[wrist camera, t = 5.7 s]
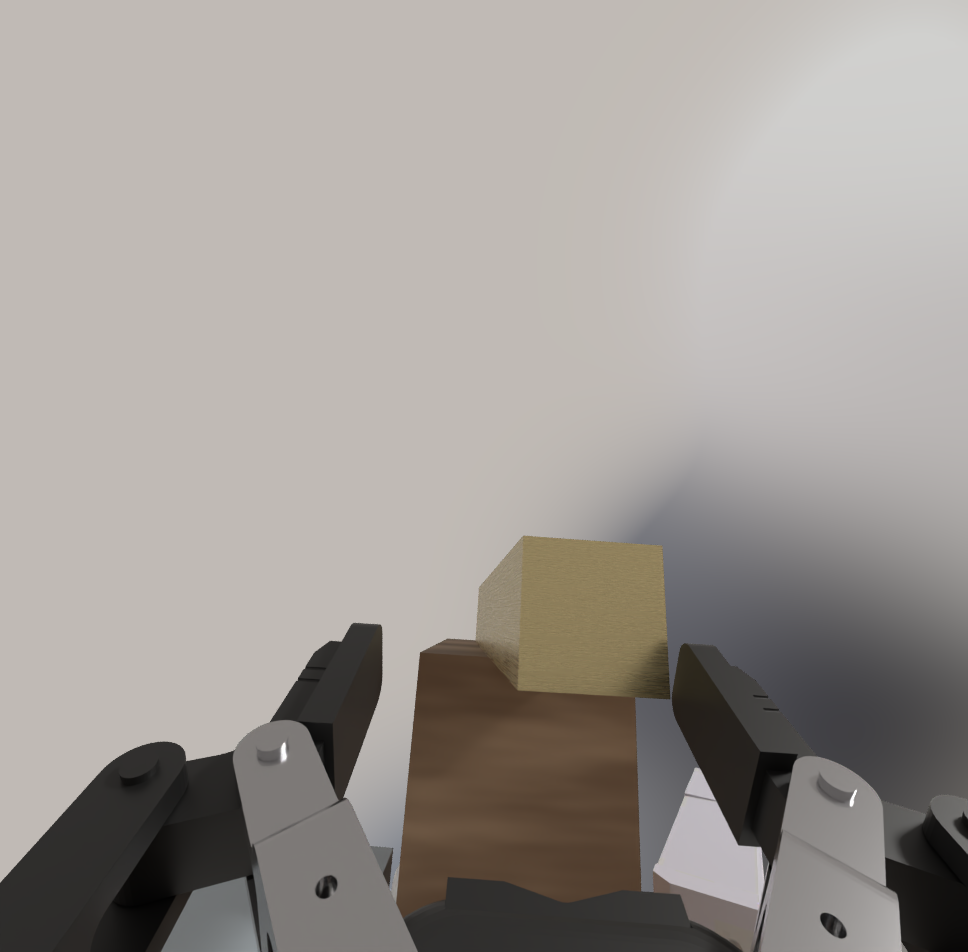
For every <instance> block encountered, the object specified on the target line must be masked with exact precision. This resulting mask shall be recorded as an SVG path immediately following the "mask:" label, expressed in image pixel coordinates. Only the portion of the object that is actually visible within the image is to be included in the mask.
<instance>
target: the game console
mask: <svg viewBox="0 0 968 952" xmlns="http://www.w3.org/2000/svg"><path fill="white" fill-rule="evenodd" d="M653 885H654V892H655V893H668V894H680V895H681V898H682V901H683V904H684V907H685V910H686V913H687V916H688V919H689V920H691V921H694V922H696V923H698V924H701V925H703V926H705V927H707V928H709V929H711V930H712V931H714V932H716V933H717V934H719V935H720V936H722V937H724V938H725V939H727V940H728V941H730V942H731V943H732V944H734V945H735V946H736V947H738V948H739V949H740V950H742V951H743V952H750V949H751V944H752V939H753V934H754V930H755V925H756V920H757V915H758V910H759V905H760V900H761V895H762V890H763V885H764V873H763V863H762V852H761V847H751V846H738V844H737V842H736V840H735V838H734V836H733V834H732V832H731V830H730V828H729V826H728V824H727V822H726V820H725V818H724V816H723V814H722V812H721V810H720V808H719V806H718V804H717V802H716V800H715V798H714V796H713V794H712V792H711V790H710V787H709V785H708V783H707V781H706V779H705V777H704V775H703V773H702V771H701V769H699V768H695V769H694V773H693V775H692V777H691V780H690V782H689V784H688V786H687V789H686V791H685V797H684V800H683V802H682V804H681V807H680V809H679V812H678V814H677V817H676V819H675V822H674V824H673V827H672V829H671V832H670V835H669V837H668V839H667V842H666V844H665V847H664V849H663V852H662V855H661V857H660V860H659V862H658V864H655V867H654V869H653Z"/></svg>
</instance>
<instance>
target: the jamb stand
mask: <svg viewBox="0 0 968 952" xmlns="http://www.w3.org/2000/svg"><path fill="white" fill-rule="evenodd" d="M636 746H637V742H636V711H635V697H623V696H605V695H588V694H571V693H554V692H537V691H520V690H517V689H516V688H515V687H514V686H513V684H512V683H511V682H510V681H509V680H508V679H507V678H506V676H505V675H504V674H503V673H502V672H501V671H500V669H499V668H498V667H497V666H496V665H495V664H494V663H493V661H492V660H491V659H490V658H489V657H488V656H487V654H486V653H485V652H484V651H483V650H482V649H481V648H480V646H479V645H478V644H477V643H476V641H474V640H460V639H446V640H444V641H442V642H440V643H438V644H436V645H434V646H432V647H430V648H428V649H426V650H424V651H422V652H420V659H419V670H418V681H417V691H416V701H415V711H414V722H413V732H412V742H411V753H410V763H409V775H408V785H407V795H406V805H405V815H404V826H403V836H402V847H401V857H400V867H399V877H398V888H397V898H396V904H397V906H398V909H399V911H400V913H401V915H402V918H404V917H405V916H406V915H408V914H410V913H412V912H413V911H415V910H417V909H419V908H421V907H423V906H426V905H428V904H431V903H433V902H437V901H441V900H445V899H446V889H447V879H448V877H455V878H468V879H482V880H495V881H505V882H508V883H511V884H513V885H516V886H519V887H522V888H524V889H527V890H530V891H533V892H535V893H538V894H541V895H543V896H546V897H549V898H552V899H554V900H557V901H560V902H565V903H569V902H575V901H579V900H583V899H587V898H591V897H596V896H600V895H604V894H608V893H613V892H617V891H621V890H628V891H641V868H640V837H639V805H638V774H637V747H636Z"/></svg>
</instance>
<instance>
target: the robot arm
mask: <svg viewBox="0 0 968 952" xmlns="http://www.w3.org/2000/svg"><path fill="white" fill-rule="evenodd" d="M381 685H382V627H381V625H378V624H363V623H353V624H352V625H351V626H350V628H349V630H348V632H347V633H346V635H345V637H344V639H343V640H342V642H337V641H329V642H328V643H327V644H325V645H324V646H323V647H321V648H320V649H319V650H318V651H316V652H315V653H314V654H313V656H312V657H311V659H310V660H309V662H308V664H307V665H306V668H305V669H304V670H303V671H302V673H301V675H300V676H299V677H298V681H296V682H295V684H294V685H293V687H292V689H291V690H290V691H289V693H288V695H287V696H286V698H285V699H284V701H283V702H282V704H281V706H280V707H279V709H278V710H277V712H276V713H275V715H274V716H273V718H272V720H271V721H270V723H267V724H264V725H262V726H260V727H258V728H256V729H254V730H253V731H251V732H250V733H248V734H247V735H246V736H245V737H244V738H243V739H242V740H241V741H240V742H239V744H238V745H237V747H236V749H235V750H234V751H231V752H228V753H226V754H221V755H217V756H211V757H206V758H201V759H196V760H191V761H186V756H185V751H184V749H183V748H182V747H181V746H180V745H178V744H175V743H172V742H155V743H150V744H146V745H142V746H140V747H137V748H134V749H132V750H130V751H128V752H126V753H124V754H123V755H121V756H119V757H118V758H116V759H115V760H113V761H112V762H111V763H110V764H108V765H107V766H106V767H105V768H104V769H103V770H102V771H101V772H100V773H99V774H98V775H97V776H96V778H95V779H94V780H93V781H92V782H91V783H90V784H89V785H88V786H87V788H86V789H85V790H84V791H83V792H82V793H81V794H80V795H79V796H78V797H77V799H76V800H75V801H74V802H73V803H72V804H71V805H70V806H69V807H68V809H67V810H66V811H65V812H64V813H63V814H62V815H61V816H60V817H59V818H58V820H57V821H56V822H55V823H54V824H53V825H52V826H51V827H50V829H49V830H48V831H47V832H46V833H45V834H44V835H43V836H42V837H41V838H40V839H39V841H38V842H37V843H36V844H35V845H34V846H33V847H32V848H31V849H30V851H29V852H28V853H27V854H26V855H25V856H24V857H23V858H22V859H21V861H20V862H19V863H18V864H17V865H16V866H15V867H14V868H13V869H12V870H11V872H10V873H9V874H8V875H7V876H6V877H5V878H4V879H3V880H2V882H1V883H0V952H161V951H162V949H163V947H164V945H165V943H166V941H167V939H168V937H169V935H170V934H171V932H172V930H173V928H174V926H175V924H176V922H177V920H178V918H179V916H180V914H181V913H182V911H183V909H184V907H185V905H186V903H187V901H188V899H189V897H190V895H191V894H192V892H193V891H194V890H197V889H201V888H205V887H209V886H212V885H216V884H220V883H223V882H227V881H231V880H235V879H238V878H242V877H244V879H245V885H246V890H247V895H248V901H249V906H250V911H251V917H252V922H253V928H254V933H255V938H256V944H257V949H258V952H743V951H742V950H740V949H739V948H738V947H736V946H735V945H734V944H732V943H731V942H730V941H728V940H727V939H725V938H724V937H722V936H720V935H719V934H717V933H716V932H714V931H712V930H711V929H709V928H707V927H705V926H703V925H701V924H698V923H696V922H694V921H691V920H689V919H688V916H687V913H686V910H685V907H684V904H683V901H682V898H681V895H680V894H668V893H655V892H641V891H628V890H621V891H617V892H613V893H608V894H604V895H600V896H596V897H591V898H587V899H583V900H579V901H575V902H569V903H565V902H560V901H557V900H554V899H552V898H549V897H546V896H543V895H541V894H538V893H535V892H533V891H530V890H527V889H524V888H522V887H519V886H516V885H513V884H511V883H508V882H505V881H495V880H482V879H468V878H455V877H448V879H447V889H446V899H445V900H441V901H437V902H433V903H431V904H428V905H426V906H423V907H421V908H419V909H417V910H415V911H413V912H412V913H410V914H408V915H406V916H405V917H404V918H402V915H401V913H400V911H399V909H398V906H397V904H396V902H395V900H394V898H393V895H392V893H391V891H390V889H389V887H388V884H387V882H386V880H385V878H384V875H383V873H382V871H381V869H380V867H379V864H378V862H377V860H376V858H375V855H374V853H373V851H372V849H371V847H370V845H369V842H368V840H367V838H366V835H365V833H364V831H363V829H362V827H361V825H360V822H359V820H358V818H357V816H356V814H355V811H354V809H353V807H352V805H351V803H350V802H349V800H348V799H347V798H343V797H344V794H345V791H346V788H347V786H348V783H349V780H350V777H351V775H352V772H353V769H354V766H355V764H356V761H357V758H358V755H359V752H360V750H361V747H362V744H363V741H364V739H365V736H366V733H367V730H368V728H369V725H370V722H371V719H372V716H373V714H374V711H375V708H376V705H377V703H378V699H379V695H380V691H381ZM672 706H673V712H674V716H675V718H676V721H677V723H678V725H679V727H680V729H681V731H682V733H683V735H684V737H685V739H686V741H687V743H688V745H689V747H690V749H691V751H692V753H693V755H694V757H695V759H696V761H697V763H698V765H699V767H700V769H701V771H702V773H703V775H704V777H705V779H706V781H707V783H708V785H709V787H710V790H711V792H712V794H713V796H714V798H715V800H716V802H717V804H718V806H719V808H720V810H721V812H722V814H723V816H724V818H725V820H726V822H727V824H728V826H729V828H730V830H731V832H732V834H733V836H734V838H735V840H736V842H737V844H738V846H751V847H761V848H762V850H763V852H764V854H765V856H766V858H767V859H768V861H769V863H768V867H767V871H766V876H765V881H764V885H763V890H762V895H761V900H760V905H759V910H758V915H757V920H756V925H755V930H754V934H753V939H752V944H751V949H750V952H902V947H901V942H902V943H903V945H904V946H905V948H906V949H907V951H908V952H968V800H967V799H965V798H961V797H957V796H952V795H938V796H935V797H934V798H933V799H932V800H931V803H930V806H929V808H928V811H927V814H924V813H921V812H918V811H914V810H911V809H908V808H905V807H902V806H898V805H895V804H892V803H888V802H885V801H882V800H880V798H879V797H878V795H877V793H876V792H875V791H874V790H873V788H872V787H871V786H870V785H868V783H867V782H866V781H864V780H863V779H862V778H861V777H860V776H858V775H857V774H855V773H854V772H852V771H851V770H849V769H847V768H846V767H844V766H842V765H840V764H838V763H836V762H833V761H831V760H828V759H824V758H820V757H817V756H816V755H815V753H814V752H813V751H812V750H811V749H810V747H809V746H808V745H807V743H806V742H805V741H804V740H803V739H802V737H801V736H800V735H799V734H798V732H797V731H796V730H795V729H794V727H793V726H792V725H791V724H790V722H789V721H788V720H787V719H786V717H785V716H784V715H783V714H782V713H781V712H779V709H778V708H777V706H776V705H775V704H774V703H773V701H772V700H771V699H768V695H767V694H766V693H765V692H764V690H763V689H762V688H761V687H760V685H759V684H758V683H757V682H756V680H754V679H753V678H751V677H750V676H749V675H747V674H746V673H745V672H743V671H742V670H741V669H739V668H738V667H735V666H730V665H729V663H728V662H727V661H726V659H725V658H724V657H723V656H722V654H721V653H720V652H719V650H718V649H717V648H716V647H715V646H713V645H702V644H683V645H682V646H681V648H680V652H679V657H678V663H677V669H676V675H675V680H674V686H673V692H672Z"/></svg>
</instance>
